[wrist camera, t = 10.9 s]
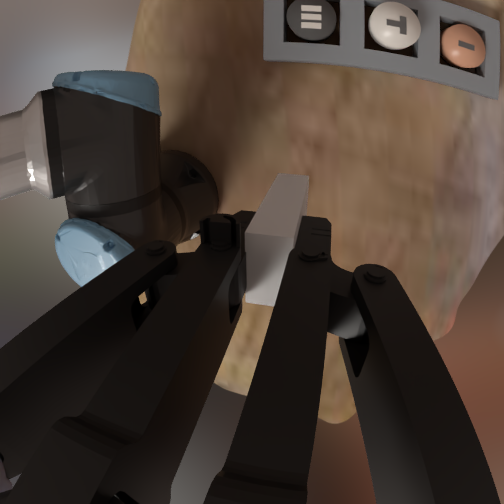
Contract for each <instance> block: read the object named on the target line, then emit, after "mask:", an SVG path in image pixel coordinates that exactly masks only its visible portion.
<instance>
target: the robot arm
mask: <svg viewBox="0 0 504 504" xmlns="http://www.w3.org/2000/svg"><path fill="white" fill-rule="evenodd" d="M52 86H53V87H54V88H53V89H48V90H43V91H39V92H37V93H36V94H35V96H34V97H33V98H32V100H31V101H30V102H29V104H28V105H27V106H26V107H25V108H24V109H23V110H20V111H16V112H12V113H9V114H6V115H2V116H0V200H2V199H5V198H8V197H11V196H14V195H17V194H20V193H24V192H27V191H30V190H35V191H38V192H39V193H41V194H42V195H44V196H45V197H47V198H48V199H53V198H57V197H61V196H64V195H65V199H66V205H67V211H68V217H69V219H68V220H65V221H64V222H63V223H62V224H61V226H60V228H59V229H58V233H57V234H56V237H55V247H56V252H57V255H58V257H59V260H60V262H61V264H62V266H63V267H64V269H65V270H66V271H67V273H68V274H69V275H70V276H71V278H72V279H73V280H74V281H75V282H77V283H78V284H79V285H80V286H81V288H79V289H78V290H77V291H75V292H74V293H72V294H71V295H70V296H68V297H67V298H66V299H64V300H63V301H61V302H60V303H59V304H57V305H56V306H55V307H53V308H52V309H51V310H50V311H48V312H47V313H46V314H44V315H43V316H41V317H40V318H39V319H38V320H36V321H35V322H33V323H32V324H31V325H30V326H28V327H27V328H26V329H24V330H23V331H22V332H21V333H19V334H18V335H17V336H16V337H14V338H13V339H12V340H11V341H9V342H8V343H7V344H6V345H4V346H3V347H2V348H1V349H0V504H169V503H170V499H171V485H172V482H173V479H174V477H175V474H176V472H177V470H178V467H179V465H180V463H181V460H182V458H183V455H184V453H185V451H186V448H187V446H188V443H189V441H190V439H191V436H192V434H193V431H194V429H195V426H196V424H197V421H198V419H199V417H200V414H201V412H202V409H203V407H204V404H205V402H206V400H207V397H208V395H209V392H210V390H211V387H212V384H213V382H214V380H215V377H216V375H217V372H218V370H219V368H220V365H221V363H222V360H223V358H224V355H225V353H226V350H227V348H228V345H229V343H230V340H231V338H232V335H233V333H234V330H235V328H236V325H237V323H238V320H239V318H240V315H241V313H242V298H243V296H244V293H245V291H246V302H247V303H254V304H261V305H268V306H274V309H273V312H272V316H271V319H270V322H269V326H268V329H267V333H266V336H265V339H264V343H263V346H262V349H261V353H260V356H259V359H258V363H257V366H256V369H255V372H254V376H253V379H252V382H251V385H250V388H249V392H248V395H247V398H246V401H245V404H244V408H243V410H242V414H241V417H240V420H239V423H238V426H237V429H236V432H235V435H234V438H233V441H232V444H231V447H230V450H229V453H228V456H227V459H226V462H225V464H224V467H223V468H222V470H221V471H220V472H219V473H218V474H217V475H216V476H215V478H214V480H213V481H212V483H211V486H210V488H209V490H208V493H207V495H206V498H205V501H204V503H203V504H306V502H307V493H308V492H307V479H308V474H309V468H310V462H311V456H312V450H313V444H314V438H315V431H316V424H317V418H318V410H319V403H320V395H321V387H322V378H323V369H324V360H325V349H326V339H327V332H329V333H332V334H335V335H337V336H339V344H340V348H341V351H342V355H343V359H344V363H345V366H346V370H347V374H348V378H349V382H350V386H351V389H352V393H353V397H354V401H355V406H356V410H357V413H358V418H359V422H360V427H361V431H362V435H363V439H364V444H365V449H366V453H367V458H368V462H369V467H370V472H371V476H372V482H373V487H374V492H375V497H376V503H377V504H501V503H500V500H499V497H498V493H497V490H496V487H495V484H494V481H493V478H492V475H491V472H490V469H489V466H488V464H487V460H486V458H485V455H484V452H483V450H482V447H481V444H480V442H479V439H478V437H477V434H476V432H475V429H474V427H473V424H472V422H471V420H470V417H469V415H468V413H467V410H466V408H465V406H464V404H463V401H462V399H461V397H460V395H459V393H458V390H457V388H456V386H455V384H454V382H453V380H452V378H451V376H450V374H449V372H448V370H447V367H446V365H445V364H444V361H443V360H442V357H441V355H440V354H439V352H438V350H437V348H436V346H435V344H434V342H433V340H432V338H431V336H430V335H429V333H428V331H427V329H426V327H425V325H424V324H423V322H422V320H421V318H420V316H419V315H418V313H417V311H416V309H415V308H414V306H413V304H412V302H411V301H410V299H409V297H408V296H407V294H406V292H405V290H404V289H403V287H402V285H401V284H400V282H399V281H398V279H397V277H396V276H395V275H394V273H393V272H392V271H390V270H389V269H387V268H385V267H383V266H381V265H377V264H364V265H360V266H358V267H356V269H355V270H354V272H353V273H352V272H349V271H346V270H344V269H342V268H340V267H338V266H337V265H335V264H334V263H333V261H332V258H331V255H330V253H331V223H330V222H329V221H328V219H327V218H320V217H311V216H306V213H307V200H308V186H309V176H305V175H294V174H283V173H278V175H277V177H276V179H275V180H274V182H273V184H272V185H271V187H270V189H269V191H268V192H267V194H266V196H265V198H264V199H263V201H262V203H261V205H260V206H259V208H258V210H257V212H253V211H242V210H241V211H239V212H237V213H236V214H234V215H230V214H216V212H217V208H218V192H217V187H216V184H215V181H214V179H213V177H212V175H211V174H210V172H209V171H208V169H207V168H206V167H205V166H204V165H203V164H202V163H201V162H200V161H199V160H197V159H196V158H194V157H193V156H191V155H189V154H187V153H184V152H180V151H172V150H171V151H163V152H160V116H162V113H161V111H160V106H159V87H158V83H157V81H156V80H155V79H154V78H153V77H152V76H150V75H148V74H145V73H139V72H130V71H112V70H111V71H109V70H99V71H98V70H95V71H84V72H67V73H61V74H58V75H57V76H56V77H55V79H54V82H53V83H52ZM199 235H200V236H201V244H200V246H199V247H198V248H197V250H196V251H195V252H189V253H177V251H176V246H177V245H178V244H180V243H183V242H186V241H188V240H191V239H193V238H195V237H197V236H199ZM144 291H145V294H146V298H147V301H146V302H145V303H143V304H140V301H139V297H138V296H139V295H141V294H142V293H143V292H144ZM21 473H22V474H21ZM19 474H21V475H20V477H19V479H18V480H17V482H16V484H15V485H14V487H13V486H12V483H11V482H10V480H9V479H11V478H13V477H15V476H17V475H19Z"/></svg>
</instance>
